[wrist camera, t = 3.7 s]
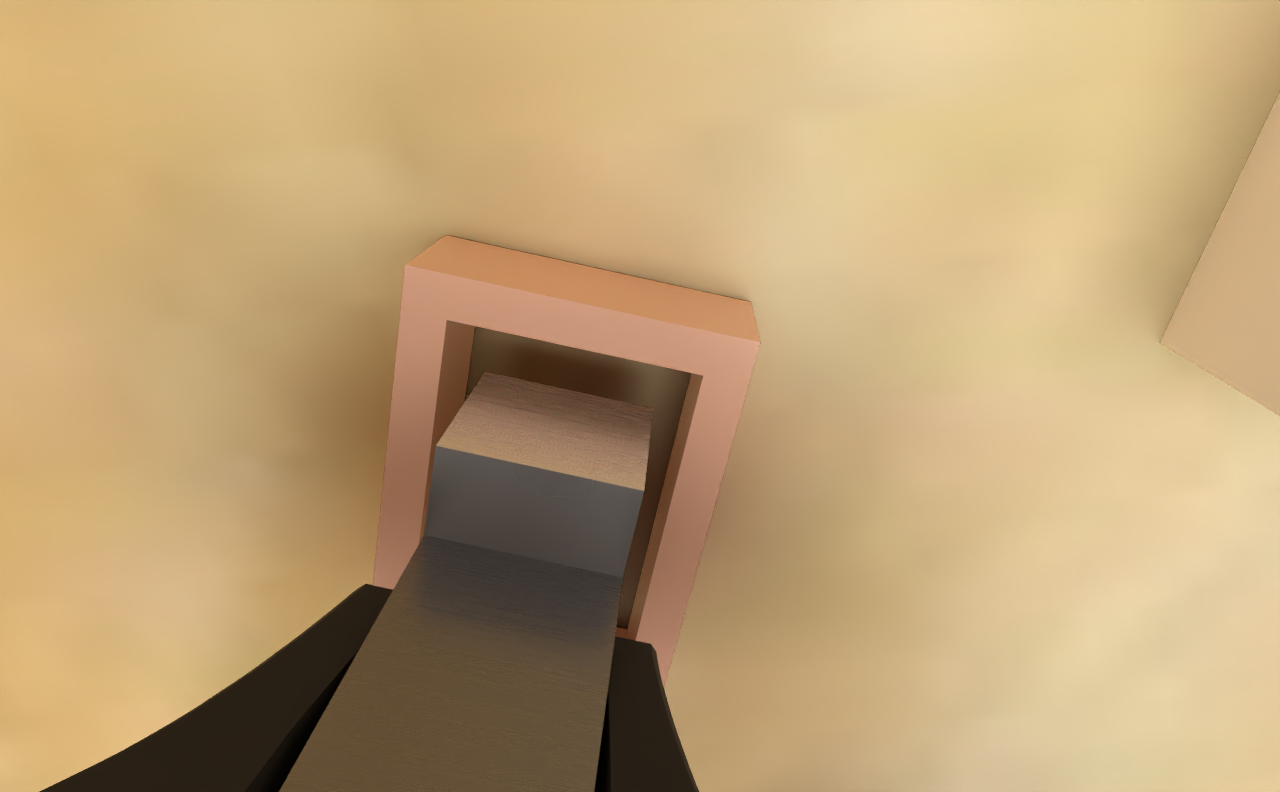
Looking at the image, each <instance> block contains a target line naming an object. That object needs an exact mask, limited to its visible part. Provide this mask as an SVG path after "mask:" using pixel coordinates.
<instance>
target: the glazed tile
mask: <svg viewBox="0 0 1280 792" xmlns="http://www.w3.org/2000/svg"><path fill="white" fill-rule="evenodd" d="M1160 343H1161V344H1163V345H1165V346H1166V347H1168V348H1169V349H1171V350H1173V351H1174V352H1176V353H1178V354H1179V355H1181V356H1183V357H1184V358H1186V359H1187V360H1189V361H1191V362H1192V363H1194V364H1196V365H1197V366H1199V367H1201V368H1202V369H1204V370H1206V371H1207V372H1209V373H1210V374H1212V375H1214V376H1215V377H1217V378H1219V379H1220V380H1222V381H1224V382H1225V383H1227V384H1228V385H1230V386H1232V387H1233V388H1235V389H1237V390H1238V391H1240V392H1242V393H1243V394H1245V395H1246V396H1248V397H1250V398H1251V399H1253V400H1255V401H1256V402H1258V403H1260V404H1261V405H1263V406H1264V407H1266V408H1268V409H1269V410H1271V411H1273V412H1274V413H1276V414H1278V415H1279V416H1280V92H1279V94H1278V96H1277V98H1276V101H1275V103H1274V105H1273V107H1272V109H1271V111H1270V113H1269V115H1268V117H1267V119H1266V121H1265V124H1264V126H1263V128H1262V130H1261V132H1260V134H1259V136H1258V138H1257V140H1256V142H1255V145H1254V147H1253V149H1252V151H1251V153H1250V155H1249V157H1248V159H1247V161H1246V163H1245V165H1244V168H1243V170H1242V172H1241V174H1240V176H1239V178H1238V180H1237V182H1236V184H1235V186H1234V188H1233V191H1232V193H1231V195H1230V197H1229V199H1228V201H1227V203H1226V205H1225V207H1224V209H1223V211H1222V214H1221V216H1220V218H1219V220H1218V222H1217V224H1216V226H1215V228H1214V230H1213V232H1212V234H1211V237H1210V239H1209V241H1208V243H1207V245H1206V247H1205V249H1204V251H1203V253H1202V255H1201V258H1200V260H1199V262H1198V264H1197V266H1196V268H1195V270H1194V272H1193V274H1192V276H1191V278H1190V281H1189V283H1188V285H1187V287H1186V289H1185V291H1184V293H1183V295H1182V297H1181V299H1180V301H1179V304H1178V306H1177V308H1176V310H1175V312H1174V314H1173V316H1172V318H1171V320H1170V322H1169V324H1168V327H1167V329H1166V331H1165V333H1164V335H1163V337H1162V339H1161V341H1160Z"/></svg>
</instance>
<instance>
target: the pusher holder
mask: <svg viewBox="0 0 1280 792" xmlns="http://www.w3.org/2000/svg"><path fill="white" fill-rule="evenodd" d="M475 326H477V327H482V328H486V329H491V330H495V331H500V332H505V333H509V334H514V335H518V336H523V337H528V338H532V339H537V340H541V341H546V342H551V343H555V344H560V345H565V346H569V347H574V348H578V349H583V350H588V351H592V352H597V353H601V354H606V355H611V356H615V357H620V358H624V359H629V360H634V361H638V362H643V363H647V364H652V365H657V366H661V367H666V368H671V369H675V370H680V371H684V372H689V373H691V377H690V381H689V385H688V389H687V393H686V397H685V401H684V405H683V409H682V413H681V417H680V421H679V425H678V429H677V433H676V437H675V441H674V445H673V449H672V453H671V457H670V461H669V465H668V469H667V473H666V477H665V481H664V485H663V489H662V493H661V497H660V501H659V505H658V509H657V513H656V517H655V521H654V525H653V529H652V533H651V537H650V541H649V545H648V549H647V553H646V557H645V561H644V565H643V569H642V573H641V577H640V581H639V585H638V589H637V593H636V597H635V601H634V605H633V609H632V613H631V617H630V621H629V625H628V629H623V628H618V627H616V633H615V636H617V637H621V638H626V639H631V640H636V641H640V642H645V643H650V644H652V646H653V647H654V649H655V650H656V652H657V659H658V665H659V670H660V675H661V679H662V683H663V687H664V686H665V682H666V678H667V675H668V671H669V668H670V664H671V661H672V657H673V653H674V650H675V646H676V643H677V639H678V636H679V632H680V628H681V625H682V621H683V618H684V614H685V611H686V607H687V603H688V600H689V596H690V593H691V589H692V586H693V582H694V579H695V575H696V571H697V568H698V564H699V561H700V557H701V554H702V550H703V546H704V543H705V539H706V536H707V532H708V529H709V525H710V521H711V518H712V514H713V511H714V507H715V504H716V500H717V496H718V493H719V489H720V486H721V482H722V479H723V475H724V472H725V468H726V464H727V461H728V457H729V454H730V450H731V447H732V443H733V439H734V436H735V432H736V429H737V425H738V422H739V418H740V414H741V411H742V407H743V404H744V400H745V397H746V393H747V389H748V386H749V382H750V379H751V375H752V372H753V368H754V365H755V361H756V357H757V354H758V350H759V347H760V343H761V342H760V338H759V333H758V329H757V325H756V321H755V317H754V313H753V309H752V304H751V302H748V301H743V300H739V299H734V298H730V297H725V296H721V295H716V294H712V293H707V292H702V291H698V290H693V289H689V288H684V287H680V286H675V285H671V284H666V283H661V282H657V281H652V280H648V279H643V278H639V277H634V276H630V275H625V274H620V273H616V272H611V271H607V270H602V269H598V268H593V267H589V266H584V265H580V264H575V263H570V262H566V261H561V260H557V259H552V258H548V257H543V256H539V255H534V254H529V253H525V252H520V251H516V250H511V249H507V248H502V247H498V246H493V245H488V244H484V243H479V242H475V241H470V240H466V239H461V238H457V237H452V236H447V235H446V236H444V237H443V238H441V239H440V240H439V241H437V242H436V243H435V244H433V245H432V246H430V247H429V248H428V249H426V250H425V251H423V252H422V253H421V254H419V255H418V256H417V257H415V258H414V259H412V260H411V261H410V262H408V263H407V264H405V270H404V280H403V290H402V300H401V310H400V320H399V330H398V340H397V350H396V360H395V370H394V380H393V389H392V399H391V409H390V419H389V429H388V439H387V449H386V459H385V469H384V479H383V489H382V499H381V509H380V518H379V528H378V538H377V548H376V558H375V568H374V578H373V585H374V586H378V587H383V588H388V589H394V587H395V586H396V584H397V582H398V580H399V579H400V577H401V575H402V573H403V571H404V570H405V568H406V566H407V564H408V563H409V561H410V559H411V557H412V556H413V554H414V552H415V550H416V548H417V547H418V545H419V543H420V541H421V540H422V538H423V536H424V532H425V524H426V517H427V509H428V501H429V494H430V486H431V479H432V471H433V463H434V456H435V448H436V445H437V443H438V442H439V440H440V439H441V437H442V436H443V434H444V433H445V431H446V430H447V428H448V427H449V425H450V424H451V422H452V421H453V419H454V418H455V416H456V415H457V413H458V412H459V410H460V409H461V407H462V406H463V404H464V402H465V395H466V388H467V381H468V373H469V366H470V359H471V352H472V344H473V337H474V330H475Z"/></svg>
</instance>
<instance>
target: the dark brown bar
mask: <svg viewBox="0 0 1280 792" xmlns="http://www.w3.org/2000/svg"><path fill="white" fill-rule="evenodd" d="M653 409H654V408H649V407H644V406H640V405H635V404H631V403H626V402H622V401H617V400H613V399H608V398H604V397H599V396H594V395H590V394H585V393H581V392H576V391H572V390H567V389H563V388H558V387H554V386H549V385H545V384H540V383H535V382H531V381H526V380H522V379H517V378H513V377H508V376H504V375H499V374H495V373H490V372H486V371H485V372H484V374H483V375H482V377H481V378H480V380H479V381H478V383H477V384H476V386H475V387H474V389H473V391H472V392H471V394H470V395H469V397H468V398H467V400H466V401H465V403H464V404H463V406H462V407H461V409H460V410H459V412H458V413H457V415H456V416H455V418H454V419H453V421H452V422H451V424H450V425H449V427H448V428H447V430H446V431H445V433H444V434H443V436H442V437H441V439H440V440H439V442H438V443H437V445H436V448H435V456H434V463H433V471H432V479H431V486H430V494H429V501H428V509H427V517H426V524H425V532H424V536H423V538H422V540H421V541H420V543H419V545H418V547H417V548H416V550H415V552H414V554H413V556H412V557H411V559H410V561H409V563H408V564H407V566H406V568H405V570H404V571H403V573H402V575H401V577H400V579H399V580H398V582H397V584H396V586H395V587H394V589H393V591H392V593H391V594H390V596H389V598H388V600H387V602H386V603H385V605H384V607H383V609H382V610H381V612H380V614H379V616H378V617H377V619H376V621H375V623H374V625H373V626H372V628H371V630H370V632H369V633H368V635H367V637H366V639H365V640H364V642H363V644H362V646H361V648H360V649H359V651H358V653H357V655H356V656H355V658H354V660H353V662H352V663H351V665H350V667H349V669H348V671H347V672H346V674H345V676H344V678H343V679H342V681H341V683H340V685H339V686H338V688H337V690H336V692H335V694H334V695H333V697H332V699H331V701H330V702H329V704H328V706H327V708H326V709H325V711H324V713H323V715H322V717H321V718H320V720H319V722H318V724H317V725H316V727H315V729H314V731H313V732H312V734H311V736H310V738H309V740H308V741H307V743H306V745H305V747H304V748H303V750H302V752H301V754H300V755H299V757H298V759H297V761H296V763H295V764H294V766H293V768H292V770H291V771H290V773H289V775H288V777H287V778H286V780H285V782H284V784H283V786H282V787H281V789H280V791H279V792H594V789H595V782H596V774H597V767H598V759H599V752H600V745H601V737H602V730H603V722H604V715H605V707H606V700H607V693H608V685H609V678H610V670H611V663H612V655H613V648H614V641H615V633H616V626H617V618H618V611H619V603H620V596H621V589H622V581H623V576H624V571H625V567H626V563H627V559H628V555H629V551H630V547H631V543H632V539H633V535H634V531H635V527H636V523H637V518H638V514H639V510H640V506H641V502H642V498H643V494H644V489H645V480H646V471H647V462H648V453H649V444H650V435H651V426H652V418H653Z"/></svg>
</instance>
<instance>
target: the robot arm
mask: <svg viewBox="0 0 1280 792" xmlns="http://www.w3.org/2000/svg"><path fill="white" fill-rule="evenodd" d="M392 591H393V589H388V588H383V587H378V586H374V585H369V584H365V585H363V586H361V587H360V588H358V589H357V590H355V591H354V592H353V593H352V594H351V595H349V596H348V597H347V598H346V599H344V600H343V601H342V602H341V603H340V604H338V605H337V606H336V607H335V608H333V609H332V610H331V611H330V612H328V613H327V614H326V615H325V616H323V617H322V618H321V619H320V620H318V621H317V622H316V623H315V624H313V625H312V626H311V627H310V628H308V629H307V630H306V631H304V632H303V633H302V634H301V635H299V636H298V637H297V638H295V639H294V640H293V641H291V642H290V643H289V644H287V645H286V646H285V647H283V648H282V649H280V650H279V651H278V652H276V653H275V654H274V655H272V656H271V657H270V658H268V659H267V660H266V661H264V662H263V663H261V664H260V665H259V666H257V667H256V668H255V669H253V670H252V671H250V672H249V673H247V674H246V675H245V676H243V677H242V678H240V679H238V680H237V681H235V682H234V683H232V684H231V685H229V686H228V687H226V688H225V689H223V690H222V691H220V692H219V693H217V694H216V695H214V696H213V697H211V698H210V699H208V700H207V701H205V702H204V703H202V704H201V705H199V706H198V707H196V708H195V709H193V710H191V711H190V712H188V713H187V714H185V715H183V716H182V717H180V718H178V719H177V720H175V721H173V722H172V723H170V724H168V725H167V726H165V727H163V728H162V729H160V730H158V731H157V732H155V733H153V734H151V735H149V736H148V737H146V738H144V739H142V740H141V741H139V742H137V743H135V744H133V745H132V746H130V747H128V748H126V749H124V750H123V751H121V752H119V753H117V754H115V755H113V756H111V757H109V758H107V759H105V760H103V761H101V762H99V763H97V764H95V765H94V766H91V767H89V768H87V769H85V770H83V771H81V772H79V773H77V774H75V775H73V776H71V777H69V778H67V779H65V780H63V781H61V782H58V783H56V784H54V785H52V786H50V787H48V788H46V789H44V790H42V791H40V792H279V791H280V789H281V787H282V786H283V784H284V782H285V780H286V778H287V777H288V775H289V773H290V771H291V770H292V768H293V766H294V764H295V763H296V761H297V759H298V757H299V755H300V754H301V752H302V750H303V748H304V747H305V745H306V743H307V741H308V740H309V738H310V736H311V734H312V732H313V731H314V729H315V727H316V725H317V724H318V722H319V720H320V718H321V717H322V715H323V713H324V711H325V709H326V708H327V706H328V704H329V702H330V701H331V699H332V697H333V695H334V694H335V692H336V690H337V688H338V686H339V685H340V683H341V681H342V679H343V678H344V676H345V674H346V672H347V671H348V669H349V667H350V665H351V663H352V662H353V660H354V658H355V656H356V655H357V653H358V651H359V649H360V648H361V646H362V644H363V642H364V640H365V639H366V637H367V635H368V633H369V632H370V630H371V628H372V626H373V625H374V623H375V621H376V619H377V617H378V616H379V614H380V612H381V610H382V609H383V607H384V605H385V603H386V602H387V600H388V598H389V596H390V594H391V593H392ZM594 792H699V790H698V788H697V785H696V783H695V780H694V778H693V775H692V773H691V770H690V768H689V765H688V762H687V759H686V756H685V754H684V751H683V748H682V745H681V742H680V740H679V737H678V734H677V731H676V728H675V725H674V722H673V719H672V715H671V712H670V709H669V705H668V702H667V698H666V695H665V691H664V687H663V683H662V679H661V675H660V670H659V665H658V659H657V652H656V650H655V649H654V647H653V646H652V644H650V643H645V642H640V641H636V640H631V639H626V638H621V637H617V636H615V641H614V648H613V655H612V663H611V670H610V678H609V685H608V693H607V700H606V707H605V715H604V722H603V730H602V737H601V745H600V752H599V759H598V767H597V774H596V782H595V789H594Z"/></svg>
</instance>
